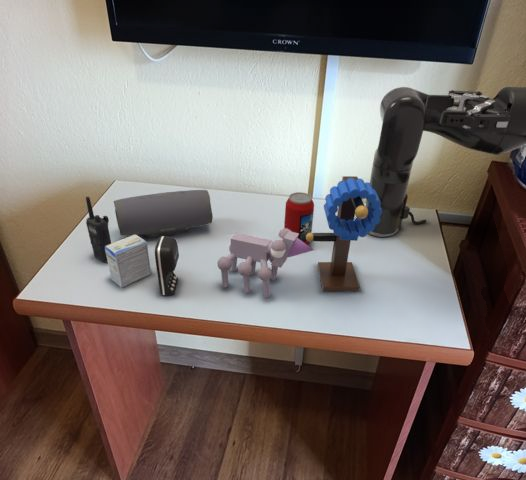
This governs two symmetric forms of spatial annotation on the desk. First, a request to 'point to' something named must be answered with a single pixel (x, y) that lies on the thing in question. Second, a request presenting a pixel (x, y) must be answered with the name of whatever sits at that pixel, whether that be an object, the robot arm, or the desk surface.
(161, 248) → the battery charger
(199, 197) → the bluetooth speaker
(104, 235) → the two-way radio
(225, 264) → the toy sheep
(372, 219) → the ridged ring
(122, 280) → the medicine box
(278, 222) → the desk surface
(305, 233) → the beverage can
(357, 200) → the hook stand
